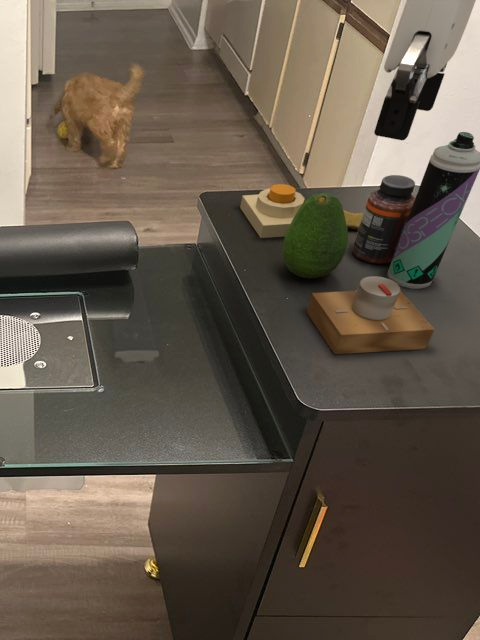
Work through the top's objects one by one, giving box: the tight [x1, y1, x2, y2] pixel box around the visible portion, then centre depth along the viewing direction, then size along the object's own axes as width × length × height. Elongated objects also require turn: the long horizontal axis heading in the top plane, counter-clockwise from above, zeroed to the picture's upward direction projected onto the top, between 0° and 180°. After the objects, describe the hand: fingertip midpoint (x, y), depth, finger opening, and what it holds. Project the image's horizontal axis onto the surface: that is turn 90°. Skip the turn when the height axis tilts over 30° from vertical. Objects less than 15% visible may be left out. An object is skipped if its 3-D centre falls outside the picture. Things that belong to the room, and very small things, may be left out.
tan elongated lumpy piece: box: [343, 209, 364, 231], centre depth 109 cm, size 3×14×3 cm
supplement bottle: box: [352, 174, 416, 265], centre depth 100 cm, size 6×6×11 cm
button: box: [268, 183, 297, 204], centre depth 110 cm, size 4×4×2 cm
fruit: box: [282, 192, 349, 280], centre depth 97 cm, size 8×8×12 cm
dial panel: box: [306, 289, 435, 355], centre depth 90 cm, size 11×9×3 cm
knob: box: [352, 275, 401, 320], centre depth 88 cm, size 4×4×4 cm
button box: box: [239, 187, 305, 239], centre depth 112 cm, size 8×10×4 cm
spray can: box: [386, 131, 480, 290], centre depth 93 cm, size 6×6×20 cm
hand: (403, 122), depth 80 cm, fingers open, 9 cm apart
